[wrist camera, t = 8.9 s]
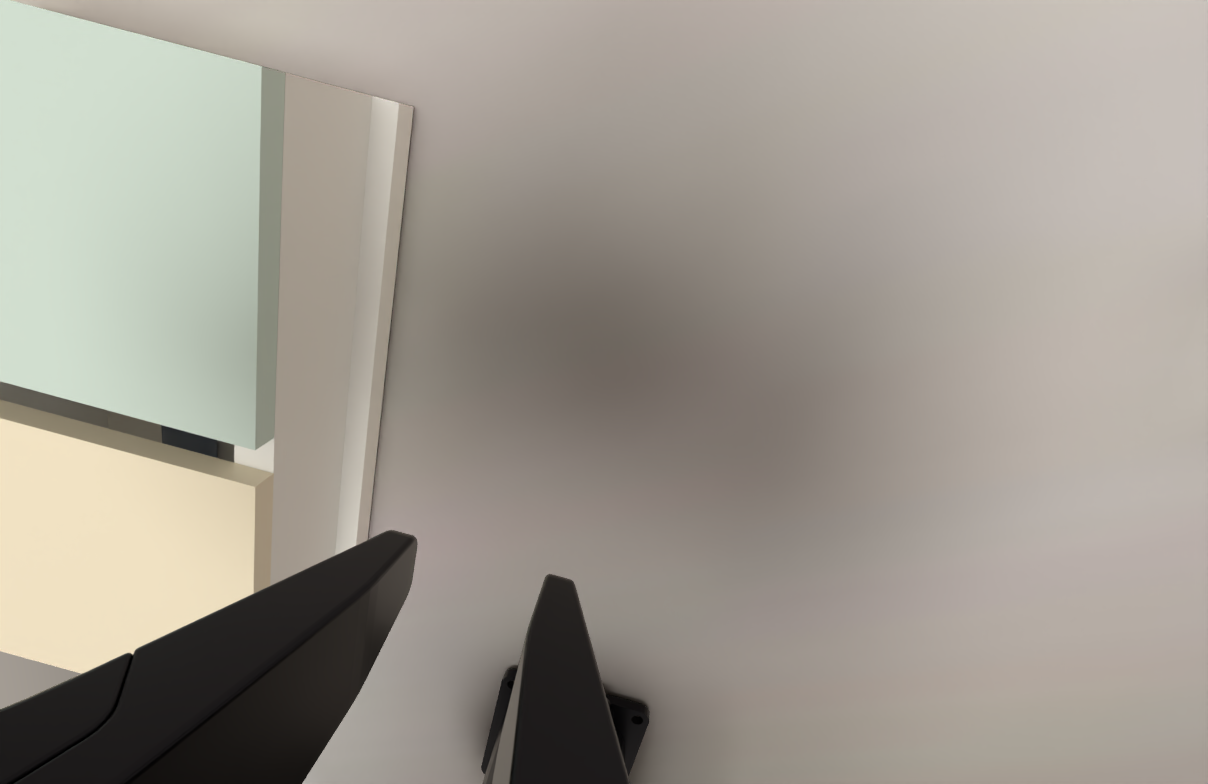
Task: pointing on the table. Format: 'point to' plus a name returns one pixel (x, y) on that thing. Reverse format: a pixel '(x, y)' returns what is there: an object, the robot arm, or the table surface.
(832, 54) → the table surface
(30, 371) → the lid outer
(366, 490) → the white tray
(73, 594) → the lid inner
